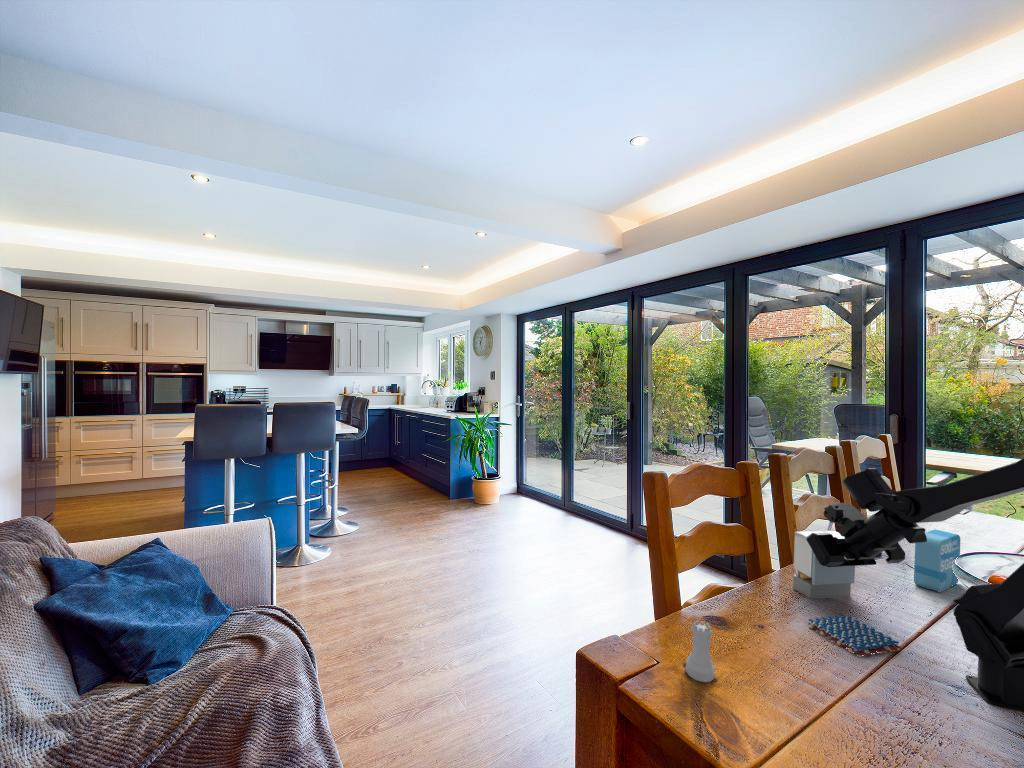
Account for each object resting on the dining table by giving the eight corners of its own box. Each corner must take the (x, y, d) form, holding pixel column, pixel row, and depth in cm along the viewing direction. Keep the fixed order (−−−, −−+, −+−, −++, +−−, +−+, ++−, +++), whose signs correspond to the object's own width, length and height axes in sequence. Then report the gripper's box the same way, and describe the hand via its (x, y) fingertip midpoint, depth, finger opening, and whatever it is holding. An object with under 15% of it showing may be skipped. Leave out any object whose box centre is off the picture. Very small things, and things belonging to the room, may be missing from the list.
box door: (854, 582, 101) (855, 541, 101) (814, 585, 99) (815, 542, 99) (851, 581, 101) (853, 540, 101) (811, 583, 100) (813, 541, 100)
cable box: (850, 596, 102) (852, 538, 101) (810, 598, 100) (812, 539, 100) (831, 586, 107) (833, 530, 106) (792, 588, 105) (794, 531, 105)
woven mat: (859, 662, 79) (859, 650, 79) (805, 628, 89) (805, 618, 89) (904, 654, 81) (905, 642, 81) (846, 622, 92) (847, 612, 91)
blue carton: (937, 593, 104) (940, 541, 104) (913, 585, 108) (915, 535, 108) (959, 583, 110) (961, 533, 110) (934, 576, 114) (936, 528, 114)
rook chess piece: (690, 662, 76) (692, 614, 76) (718, 673, 74) (720, 624, 73) (681, 675, 73) (682, 625, 73) (710, 688, 70) (712, 636, 70)
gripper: (893, 493, 96) (844, 528, 107) (815, 494, 92) (773, 530, 103) (932, 545, 88) (875, 577, 99) (849, 548, 85) (799, 580, 96)
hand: (829, 564), depth 99 cm, fingers closed on box door
